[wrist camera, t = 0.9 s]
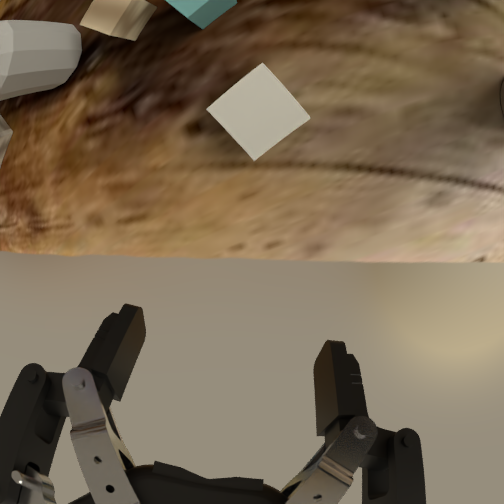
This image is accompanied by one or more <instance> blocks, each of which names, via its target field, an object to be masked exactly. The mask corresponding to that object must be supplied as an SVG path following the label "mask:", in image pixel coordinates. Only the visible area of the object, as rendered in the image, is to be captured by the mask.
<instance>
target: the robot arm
mask: <svg viewBox="0 0 504 504" xmlns="http://www.w3.org/2000/svg"><path fill="white" fill-rule="evenodd" d="M501 106H502V111H503V114H504V81H503V83H502V87H501ZM145 336H146V328H145V322H144V316H143V310H142V308H141V307H138V306H134V305H130V304H124V305H123V307H122V309H121V310H120V312H119V314H117V313H111V314H110V315H109V316H108V317H106V318H105V319H104V320H103V322H102V324H101V326H100V327H99V330H98V331H97V333H96V334H95V338H93V340H92V342H91V343H90V345H89V347H88V349H87V351H86V353H85V355H84V357H83V358H82V360H81V362H80V364H79V365H78V367H76V368H72V369H70V370H69V371H67V372H66V373H54V372H46V371H45V370H44V368H43V367H42V366H41V365H39V364H36V363H31V364H28V365H26V366H25V367H24V368H23V369H22V370H21V372H20V374H19V376H18V378H17V380H16V382H15V384H14V387H13V389H12V391H11V393H10V395H9V398H8V400H7V402H6V405H5V407H4V409H3V412H2V414H1V416H0V504H56V501H55V498H54V493H55V491H54V486H53V483H52V482H51V480H50V479H49V478H48V475H49V471H50V468H51V464H52V460H53V457H54V454H55V450H56V447H57V443H58V440H59V437H60V434H61V431H62V428H63V425H64V422H65V419H66V417H70V420H71V424H72V430H71V431H70V435H71V440H72V443H73V446H74V450H75V453H76V455H77V459H78V462H79V464H80V467H81V470H82V472H83V475H84V478H85V480H86V483H87V485H88V488H89V490H90V492H89V493H87V494H86V495H84V496H82V497H80V498H78V499H76V500H74V501H73V502H70V503H68V504H338V502H339V501H340V500H341V498H342V497H343V496H344V494H345V493H346V491H347V490H348V489H349V487H350V486H351V484H352V482H353V478H352V477H353V474H354V473H355V471H356V470H357V468H358V467H362V504H426V494H425V479H424V468H423V458H422V450H421V443H420V438H419V436H418V434H417V433H416V432H415V431H414V430H412V429H409V428H403V429H401V430H399V431H398V432H393V431H389V430H385V429H382V428H379V427H377V426H376V424H375V423H374V422H373V421H372V420H371V419H370V418H369V416H368V413H367V407H366V401H365V395H364V389H363V384H362V378H361V372H360V367H359V363H358V362H357V360H356V359H355V357H354V355H353V354H347V351H346V346H345V343H344V342H343V341H332V340H327V341H326V342H325V344H324V346H323V347H322V350H321V351H320V353H319V355H318V357H317V358H316V361H315V364H314V387H315V405H316V426H317V427H316V428H317V436H325V443H324V444H323V445H322V446H321V448H320V449H319V450H318V451H317V452H316V454H315V455H314V456H313V457H312V459H311V460H310V461H309V462H308V463H307V464H306V466H305V467H304V468H303V469H302V470H301V471H300V472H299V473H298V475H296V476H295V477H294V478H293V479H292V480H291V481H290V482H289V483H288V484H287V485H286V486H285V487H284V488H283V489H282V490H281V491H279V490H277V489H275V488H273V487H271V486H269V485H267V484H263V479H252V478H241V477H232V478H218V479H206V478H203V477H201V476H199V475H197V474H194V473H192V472H189V471H187V470H185V469H183V468H181V467H177V466H173V465H169V464H165V463H161V462H157V461H155V462H154V465H141V466H135V464H134V462H133V459H132V457H131V455H130V453H129V451H128V449H127V448H126V446H125V444H124V442H123V440H122V437H121V435H120V432H119V430H118V427H117V425H116V422H115V419H114V417H113V414H112V411H111V409H110V405H111V402H112V400H113V399H114V400H117V401H121V398H122V395H123V393H124V390H125V388H126V385H127V383H128V380H129V378H130V375H131V373H132V370H133V368H134V365H135V363H136V360H137V358H138V355H139V353H140V350H141V348H142V346H143V343H144V341H145Z"/></svg>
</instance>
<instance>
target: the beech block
mask: <svg viewBox="0 0 504 504" xmlns="http://www.w3.org/2000/svg"><path fill="white" fill-rule="evenodd" d="M156 8H157V7H156V6H154V5H153V4H151V3H149V2H147V1H145V0H94V1H93V2H92V4H91V5H90V7H89V9H88V10H87V12H86V14H85V16H84V17H83V19H82V21H81V23H80V25H82V26H85V27H88V28H91V29H94V30H96V31H99V32H102V33H105V34H107V35H110V36H115V37H120V38H125V39H129V40H133V41H135V40H136V39H137V37H138V36H139V34H140V32H141V31H142V29H143V28H144V26H145V25H146V23H147V22H148V20H149V19H150V17H151V16H152V14H153V13H154V11H155V10H156Z"/></svg>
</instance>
